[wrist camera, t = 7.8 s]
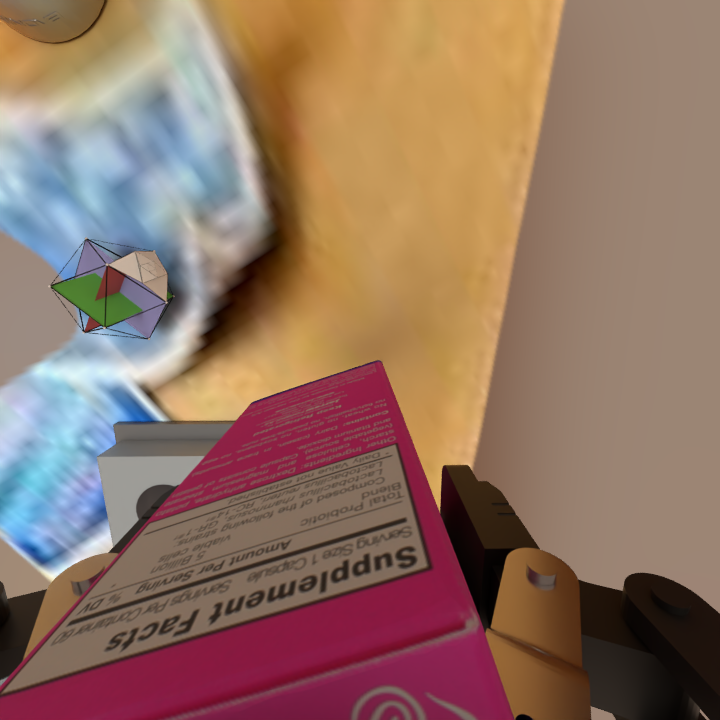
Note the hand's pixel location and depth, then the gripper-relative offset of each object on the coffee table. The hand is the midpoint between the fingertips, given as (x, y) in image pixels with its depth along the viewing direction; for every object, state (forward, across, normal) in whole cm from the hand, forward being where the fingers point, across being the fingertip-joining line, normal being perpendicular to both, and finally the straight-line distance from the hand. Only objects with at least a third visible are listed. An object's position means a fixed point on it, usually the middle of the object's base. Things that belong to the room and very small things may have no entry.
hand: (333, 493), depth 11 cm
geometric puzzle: (+20, +17, -6) cm, 27 cm away
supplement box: (+4, 0, 0) cm, 4 cm away
